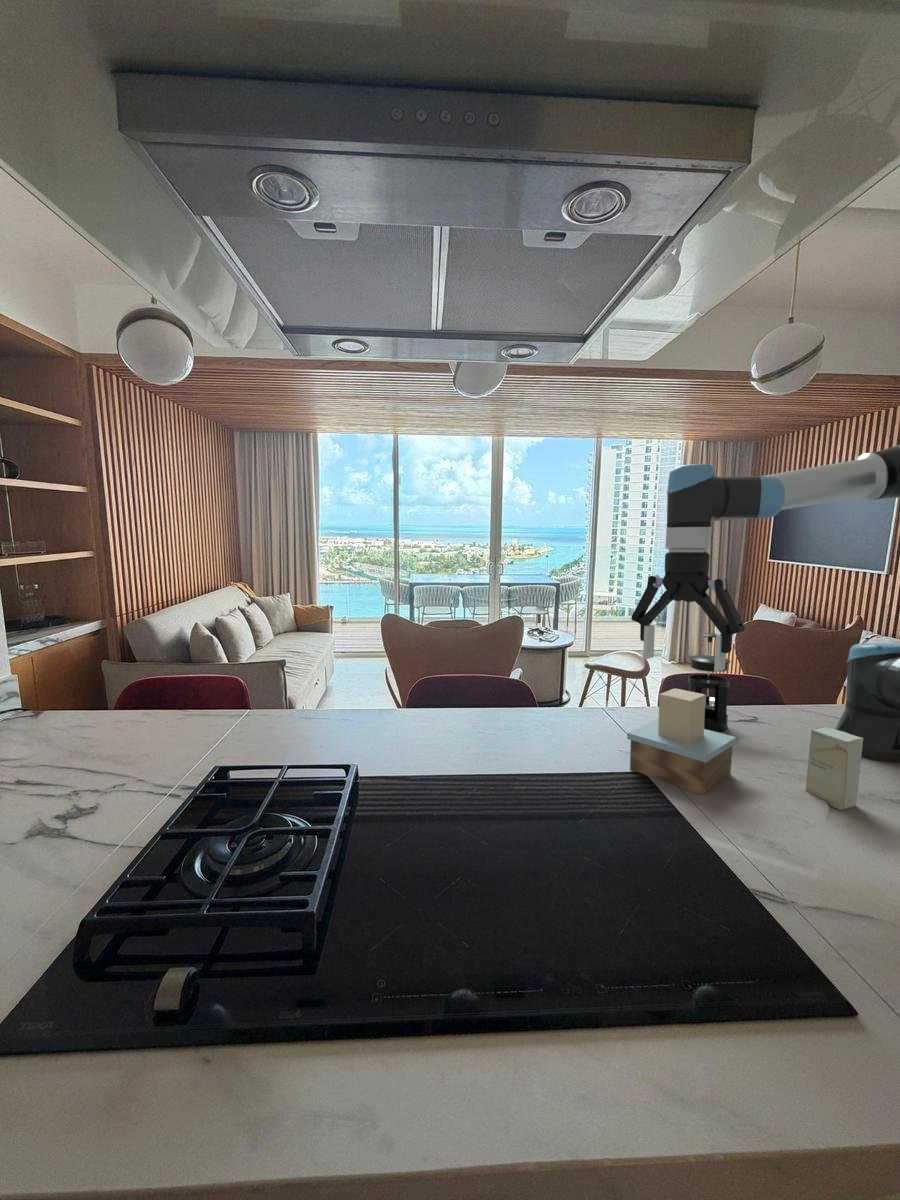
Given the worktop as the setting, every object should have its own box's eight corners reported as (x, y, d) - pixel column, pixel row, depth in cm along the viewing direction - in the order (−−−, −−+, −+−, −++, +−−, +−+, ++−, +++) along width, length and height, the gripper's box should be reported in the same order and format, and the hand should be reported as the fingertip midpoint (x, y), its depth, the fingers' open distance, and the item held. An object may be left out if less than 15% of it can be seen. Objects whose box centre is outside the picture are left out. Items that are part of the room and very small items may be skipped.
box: (730, 778, 99) (732, 743, 98) (702, 799, 91) (704, 760, 91) (660, 756, 110) (661, 724, 109) (629, 773, 102) (630, 738, 101)
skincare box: (804, 795, 92) (808, 728, 91) (821, 790, 94) (825, 725, 93) (842, 811, 87) (847, 741, 85) (859, 806, 88) (864, 737, 87)
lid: (736, 743, 98) (738, 696, 97) (705, 762, 90) (707, 711, 89) (660, 723, 110) (661, 680, 109) (627, 738, 101) (628, 692, 100)
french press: (676, 720, 132) (679, 630, 130) (712, 718, 133) (715, 629, 130) (702, 736, 120) (706, 639, 118) (741, 735, 121) (746, 638, 119)
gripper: (769, 551, 89) (762, 672, 91) (635, 550, 108) (632, 650, 110) (753, 551, 84) (745, 680, 86) (615, 550, 103) (612, 655, 105)
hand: (682, 664), depth 98 cm, fingers open, 13 cm apart
